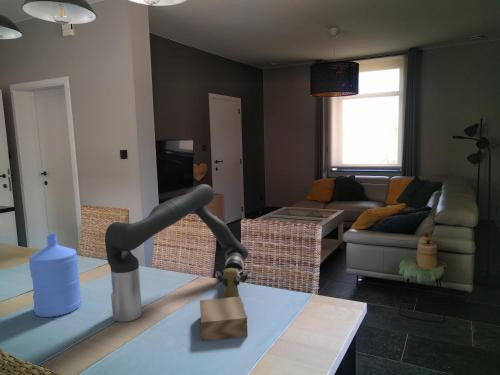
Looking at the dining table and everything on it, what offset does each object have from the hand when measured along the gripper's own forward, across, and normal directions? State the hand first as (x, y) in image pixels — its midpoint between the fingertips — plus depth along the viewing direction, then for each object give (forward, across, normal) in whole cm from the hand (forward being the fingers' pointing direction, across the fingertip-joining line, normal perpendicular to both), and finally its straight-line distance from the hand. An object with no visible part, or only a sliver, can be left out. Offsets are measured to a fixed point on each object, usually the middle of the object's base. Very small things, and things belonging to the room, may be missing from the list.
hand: (231, 283), depth 133 cm
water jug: (-2, -64, +10) cm, 65 cm away
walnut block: (+14, -2, +9) cm, 16 cm away
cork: (-3, 0, +7) cm, 7 cm away
